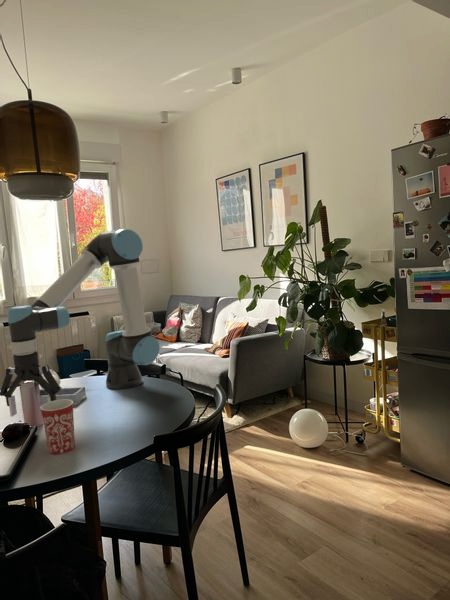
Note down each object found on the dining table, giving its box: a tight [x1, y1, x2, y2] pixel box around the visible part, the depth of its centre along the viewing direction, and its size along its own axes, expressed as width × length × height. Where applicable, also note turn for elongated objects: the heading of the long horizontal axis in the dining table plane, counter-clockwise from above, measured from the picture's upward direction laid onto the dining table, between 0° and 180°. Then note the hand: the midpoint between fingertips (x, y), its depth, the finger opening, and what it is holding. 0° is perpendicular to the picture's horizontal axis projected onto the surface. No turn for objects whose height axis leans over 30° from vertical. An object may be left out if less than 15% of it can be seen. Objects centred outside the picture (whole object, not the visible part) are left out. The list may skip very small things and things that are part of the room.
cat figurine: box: [39, 368, 62, 389], centre depth 192 cm, size 10×8×15 cm
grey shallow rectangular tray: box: [40, 386, 87, 407], centre depth 176 cm, size 20×10×4 cm, turn 85°
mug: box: [40, 399, 76, 455], centre depth 133 cm, size 13×9×14 cm
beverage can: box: [19, 380, 44, 428], centre depth 152 cm, size 6×6×15 cm
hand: (33, 414), depth 153 cm, fingers open, 13 cm apart
